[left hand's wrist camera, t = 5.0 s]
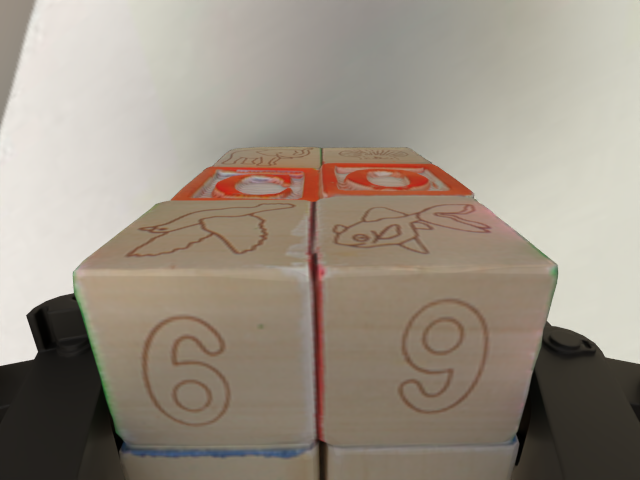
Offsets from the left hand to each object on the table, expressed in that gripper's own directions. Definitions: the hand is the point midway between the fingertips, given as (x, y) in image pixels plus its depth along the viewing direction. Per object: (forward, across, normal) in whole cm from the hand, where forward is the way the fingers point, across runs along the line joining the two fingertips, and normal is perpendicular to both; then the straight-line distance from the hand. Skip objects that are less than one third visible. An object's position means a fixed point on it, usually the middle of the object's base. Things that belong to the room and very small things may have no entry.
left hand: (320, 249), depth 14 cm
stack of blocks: (+1, 0, -7) cm, 7 cm away
